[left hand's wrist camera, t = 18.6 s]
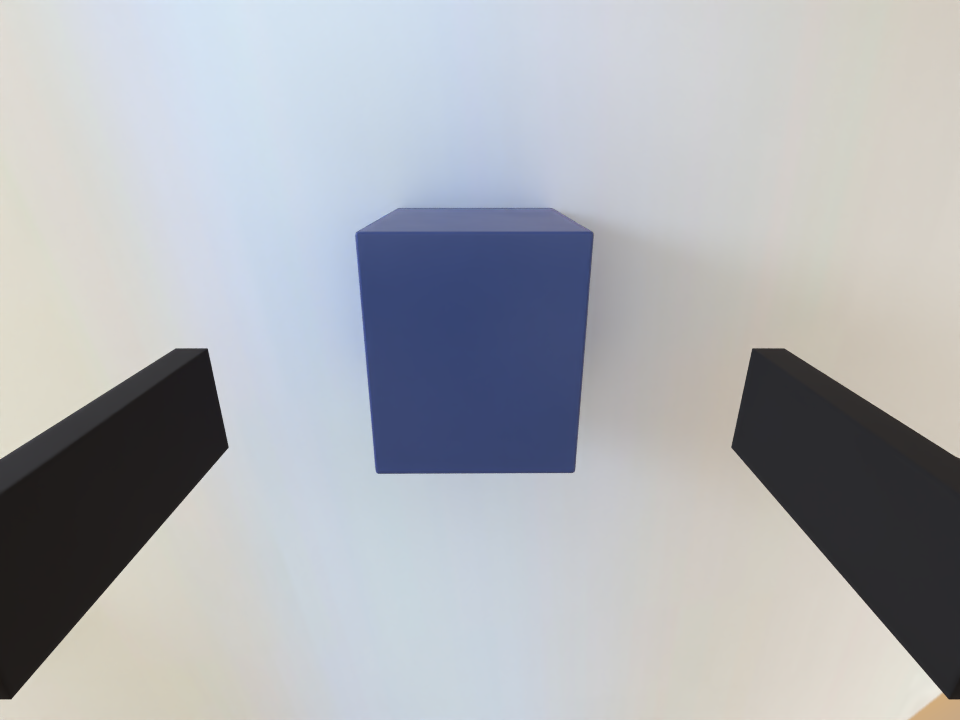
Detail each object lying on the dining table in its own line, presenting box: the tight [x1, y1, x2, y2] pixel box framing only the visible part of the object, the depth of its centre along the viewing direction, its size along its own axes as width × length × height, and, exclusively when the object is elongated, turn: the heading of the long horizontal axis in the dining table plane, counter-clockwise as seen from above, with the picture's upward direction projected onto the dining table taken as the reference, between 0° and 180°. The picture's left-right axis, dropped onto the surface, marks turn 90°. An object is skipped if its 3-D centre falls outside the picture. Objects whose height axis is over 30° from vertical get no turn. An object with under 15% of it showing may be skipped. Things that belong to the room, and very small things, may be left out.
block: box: [355, 208, 594, 474], centre depth 19 cm, size 7×8×8 cm
